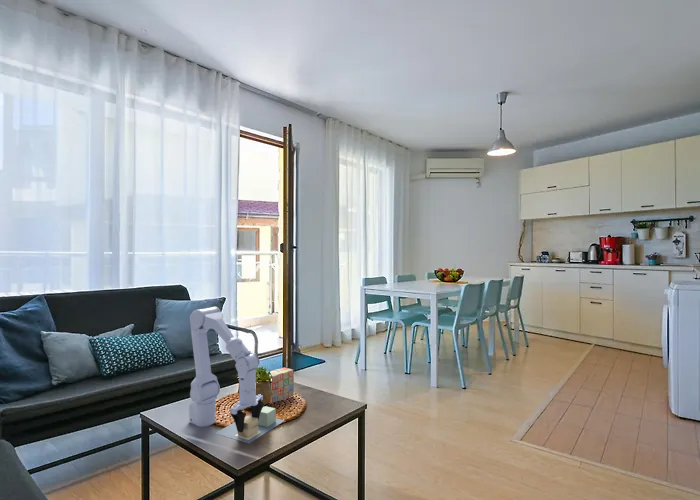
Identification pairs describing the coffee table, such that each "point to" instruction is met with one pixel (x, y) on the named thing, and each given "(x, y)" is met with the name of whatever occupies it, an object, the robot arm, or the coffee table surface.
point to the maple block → (249, 427)
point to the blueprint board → (233, 433)
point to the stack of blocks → (282, 384)
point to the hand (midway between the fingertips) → (247, 426)
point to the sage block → (267, 416)
